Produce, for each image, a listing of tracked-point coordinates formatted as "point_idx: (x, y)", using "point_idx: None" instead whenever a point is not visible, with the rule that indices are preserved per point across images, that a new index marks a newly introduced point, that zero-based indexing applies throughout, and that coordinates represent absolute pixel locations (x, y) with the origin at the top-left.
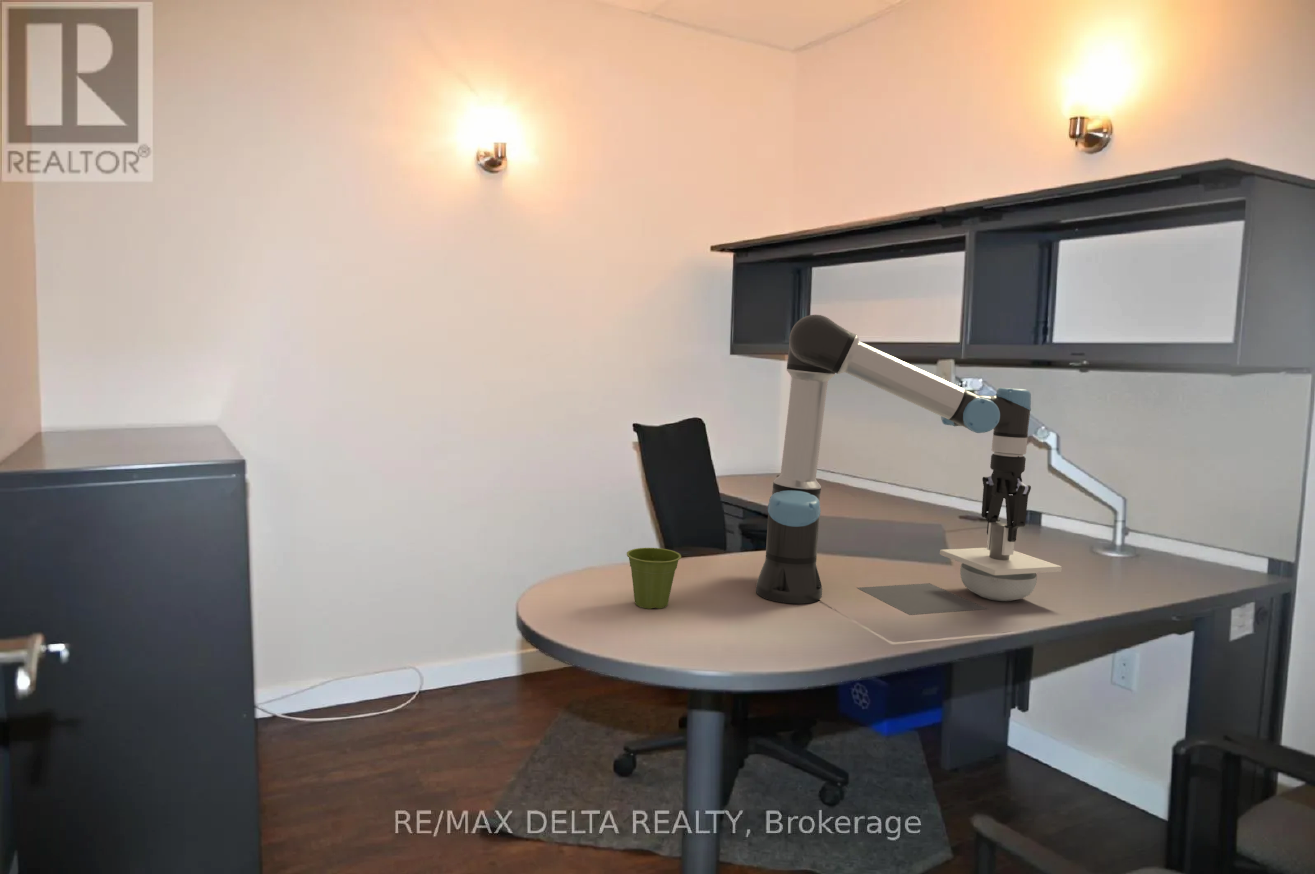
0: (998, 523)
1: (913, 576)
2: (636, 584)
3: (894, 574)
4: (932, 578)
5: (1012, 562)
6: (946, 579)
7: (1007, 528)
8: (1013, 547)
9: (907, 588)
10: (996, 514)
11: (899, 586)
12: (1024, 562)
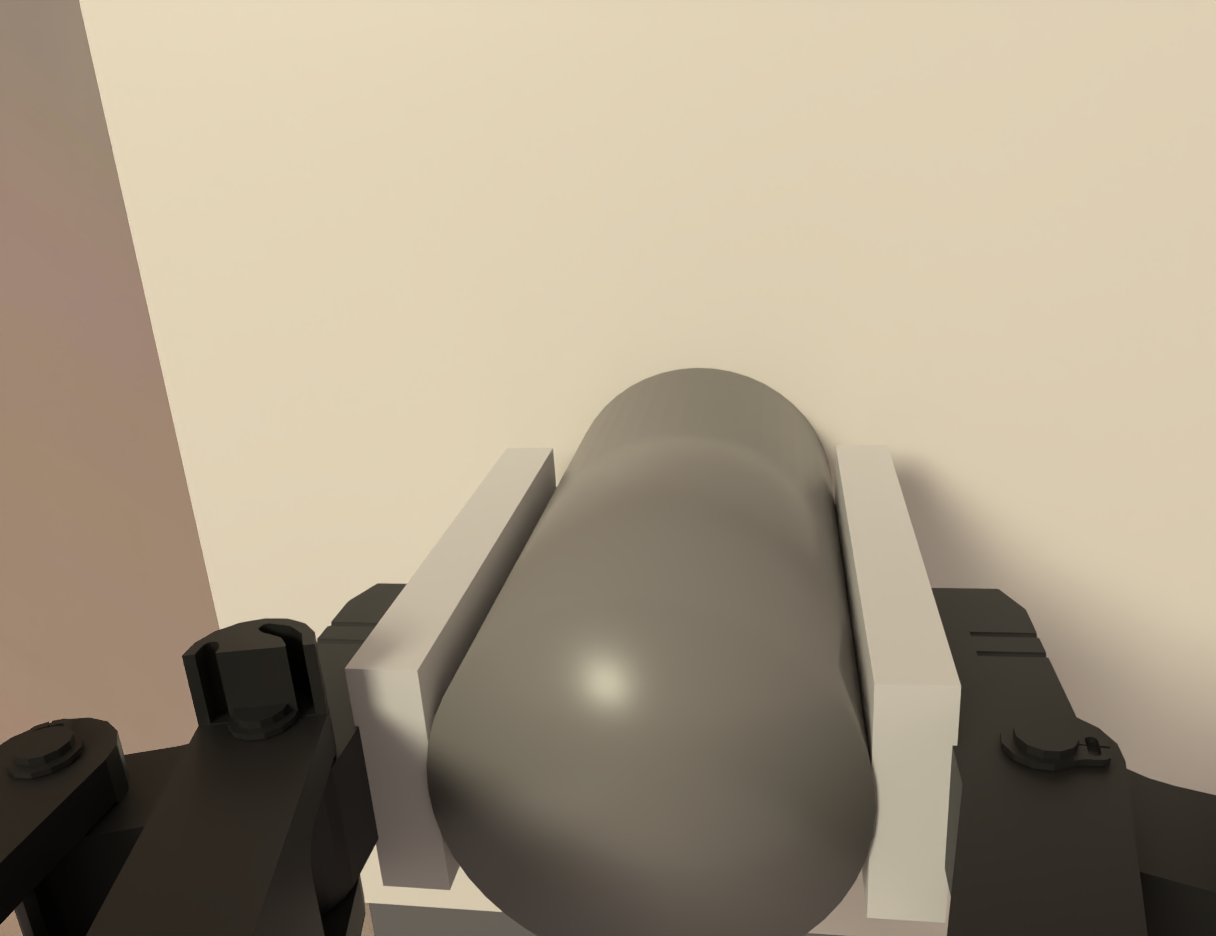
0: (508, 784)
1: (95, 622)
2: None
3: None
4: (141, 511)
5: (966, 491)
6: (165, 412)
7: (940, 879)
8: (900, 495)
9: None
10: (308, 901)
11: (401, 912)
12: (1009, 304)
